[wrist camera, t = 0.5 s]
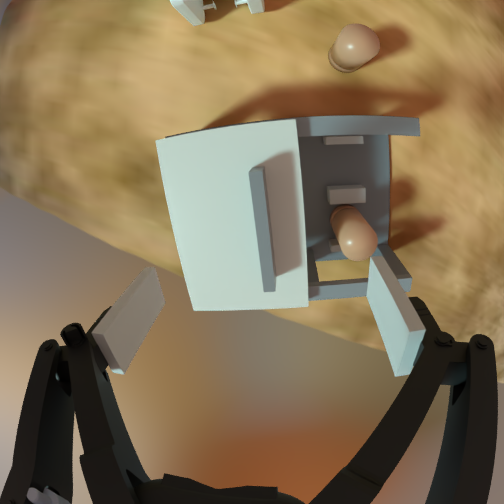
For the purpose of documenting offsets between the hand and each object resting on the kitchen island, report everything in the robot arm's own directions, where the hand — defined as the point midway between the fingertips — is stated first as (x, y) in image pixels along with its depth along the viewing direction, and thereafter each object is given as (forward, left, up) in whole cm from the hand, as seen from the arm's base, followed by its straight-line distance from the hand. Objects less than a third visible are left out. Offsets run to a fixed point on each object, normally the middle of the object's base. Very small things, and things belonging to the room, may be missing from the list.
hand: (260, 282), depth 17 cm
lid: (+1, -4, -14) cm, 15 cm away
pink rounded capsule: (-18, +12, -26) cm, 34 cm away
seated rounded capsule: (+5, +10, -25) cm, 27 cm away
